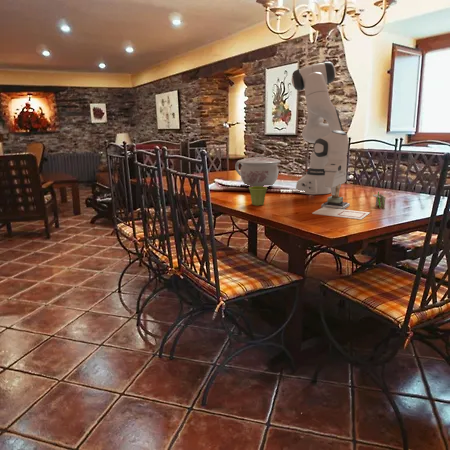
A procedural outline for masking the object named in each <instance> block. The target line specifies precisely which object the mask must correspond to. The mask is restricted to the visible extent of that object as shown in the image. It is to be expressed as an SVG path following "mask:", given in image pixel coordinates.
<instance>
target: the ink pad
mask: <svg viewBox="0 0 450 450" xmlns="http://www.w3.org/2000/svg"><path fill="white" fill-rule="evenodd" d="M349 206H350V203H349V202H345V201H343V203H341V204H340V205H338V204H329V203H327V201H325V202H324V203H322V204H321V205H320V208H323V207H326V208H335V209H344V210H346V209H348V208H349Z"/></svg>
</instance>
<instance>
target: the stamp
mask: <svg viewBox="0 0 450 450" xmlns="http://www.w3.org/2000/svg"><path fill="white" fill-rule="evenodd" d="M339 187H340V184H339V185H338V186H336V188H335V191H336V195H331V196H327V201H326V202H327V203H329V204H338V205H340V204H341V203H343V202H344V197H343V196H340V190H339ZM340 188H341V187H340Z"/></svg>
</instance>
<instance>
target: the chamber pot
mask: <svg viewBox="0 0 450 450" xmlns="http://www.w3.org/2000/svg"><path fill="white" fill-rule="evenodd" d="M281 162H282V161H281V160H280V159H277V158H273V157H265V156H264V155H262V154H256V155H254V157H249V158H248V157H247V158H243V159H239V160H237V161H236V162H235V166H234V168H235V171H236V173H237V174H238V175H239V176H240V179H241V181H242V183H243V184H244V185H245V184H247V185H250V186H264V185H273V184H274V185H275V183H276V182H277V180H278V176H279V166H278V164H279V163H281ZM239 164H240V165H241V166H240V169H239ZM274 185H273V186H274Z"/></svg>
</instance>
